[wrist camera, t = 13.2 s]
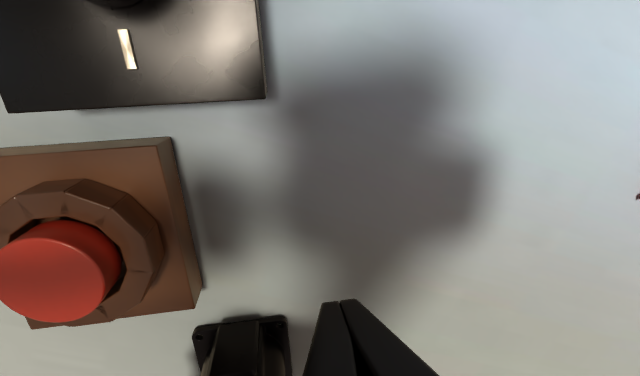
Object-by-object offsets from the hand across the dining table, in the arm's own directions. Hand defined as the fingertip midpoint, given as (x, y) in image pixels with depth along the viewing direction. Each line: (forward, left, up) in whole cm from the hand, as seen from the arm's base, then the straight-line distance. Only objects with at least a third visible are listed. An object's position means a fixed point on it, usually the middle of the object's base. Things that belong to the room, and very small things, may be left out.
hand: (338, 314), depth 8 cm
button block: (-2, +11, -12) cm, 17 cm away
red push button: (-2, +11, -8) cm, 14 cm away
